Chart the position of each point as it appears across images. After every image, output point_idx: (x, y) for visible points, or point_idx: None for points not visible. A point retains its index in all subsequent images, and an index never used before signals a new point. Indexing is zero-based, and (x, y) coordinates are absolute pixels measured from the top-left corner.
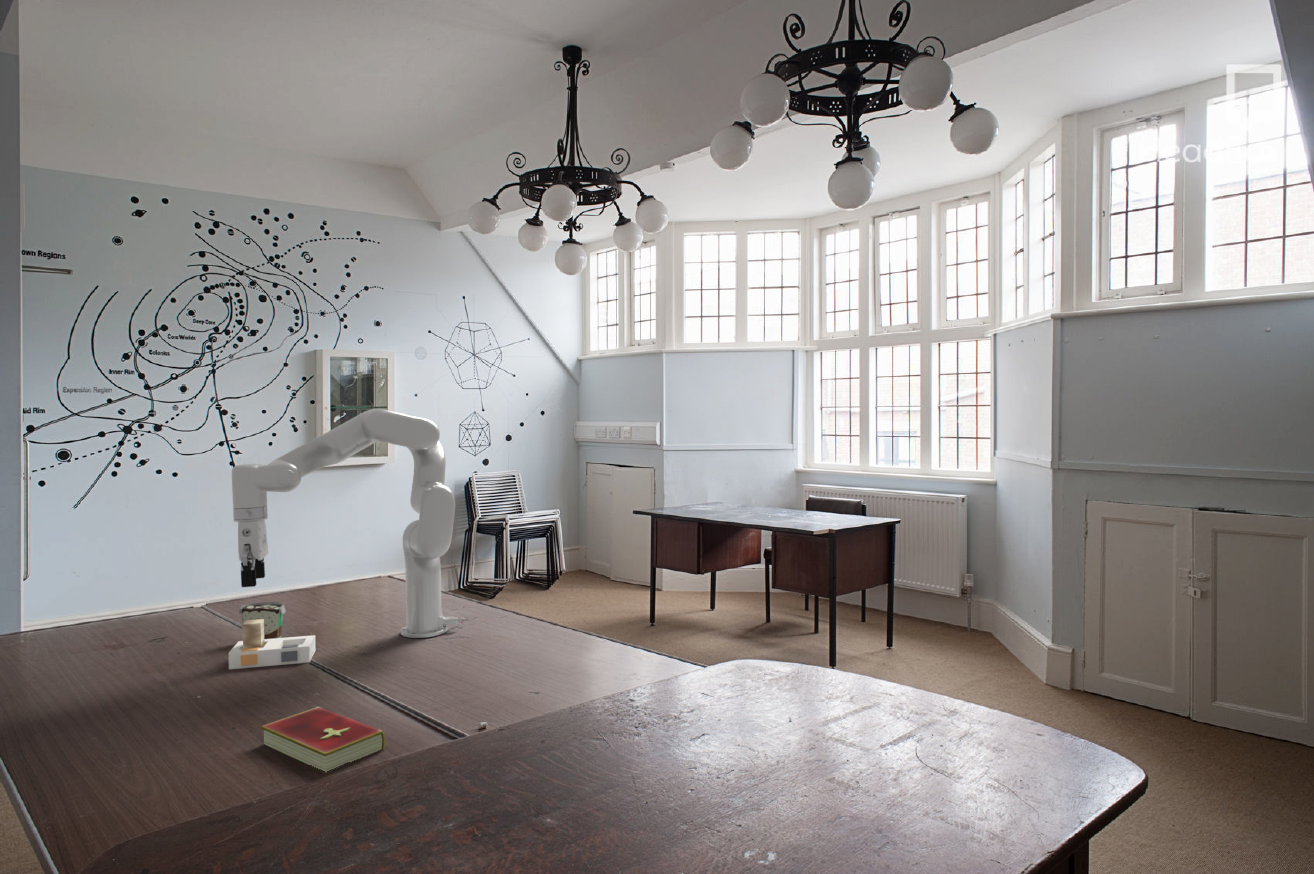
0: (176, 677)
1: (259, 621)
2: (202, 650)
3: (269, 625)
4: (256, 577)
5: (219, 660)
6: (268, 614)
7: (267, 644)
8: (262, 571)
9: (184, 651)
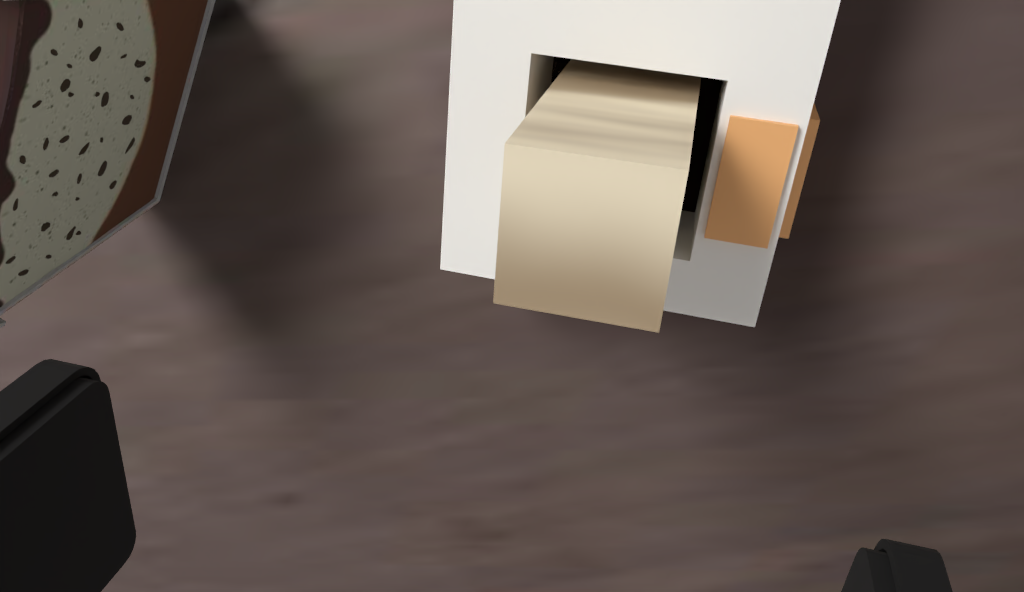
0: (763, 514)
1: (601, 182)
2: (265, 407)
3: (115, 68)
4: (117, 486)
5: (509, 326)
6: (42, 98)
7: (637, 49)
8: (15, 472)
9: (261, 480)
